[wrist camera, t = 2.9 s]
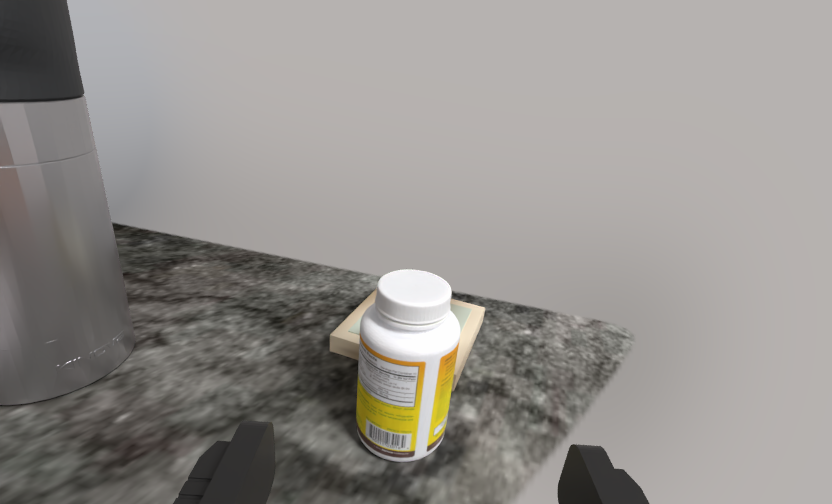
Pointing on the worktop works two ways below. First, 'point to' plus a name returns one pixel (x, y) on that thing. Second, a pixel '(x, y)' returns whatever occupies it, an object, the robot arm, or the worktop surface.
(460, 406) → the worktop surface
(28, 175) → the robot arm
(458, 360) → the birch block
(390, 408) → the supplement bottle
